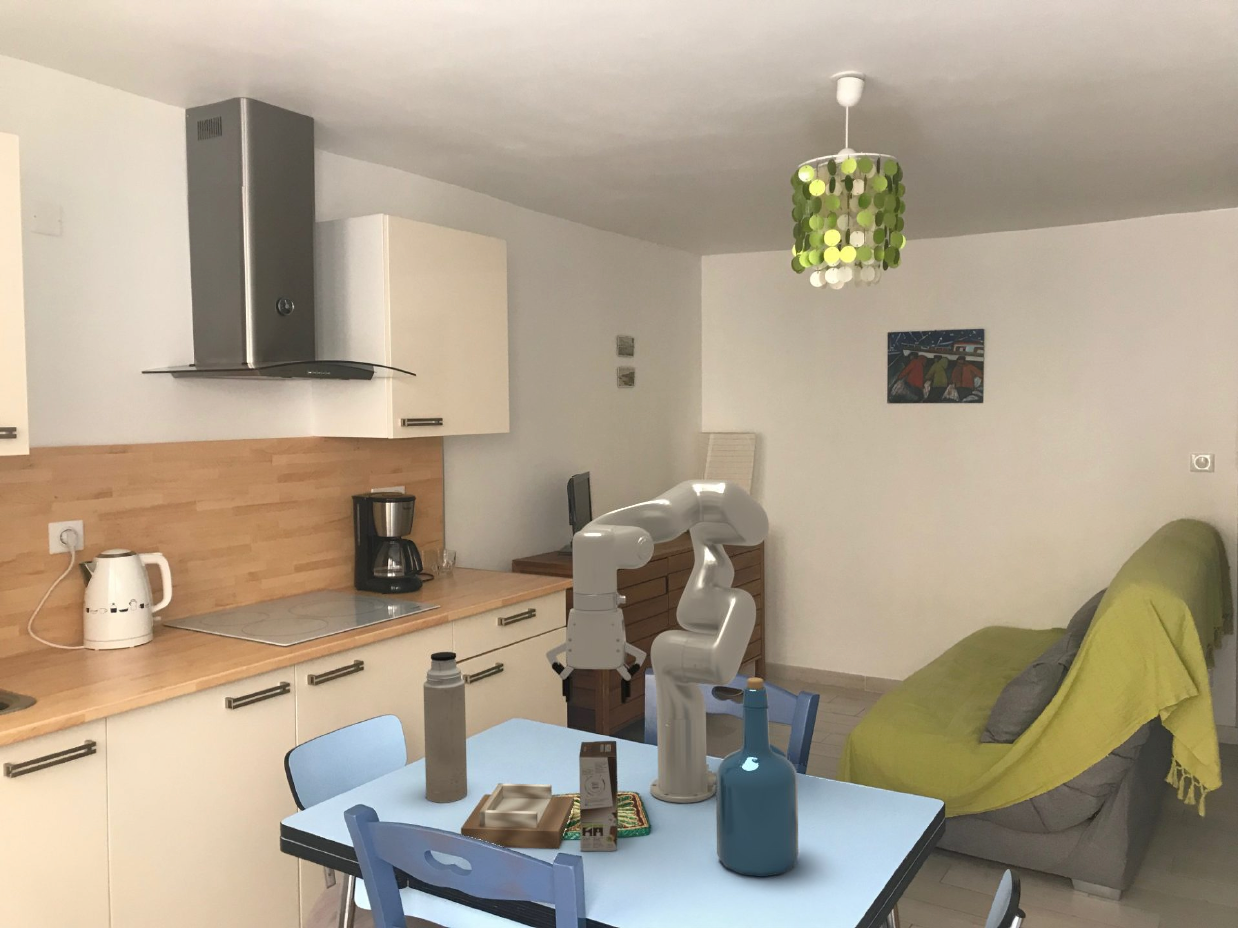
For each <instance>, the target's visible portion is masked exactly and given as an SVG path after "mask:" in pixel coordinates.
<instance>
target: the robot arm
mask: <svg viewBox="0 0 1238 928" xmlns="http://www.w3.org/2000/svg"><path fill="white" fill-rule="evenodd" d="M768 517H769V516H768V515H767V512H766V511H765V508H764V507H763V506H762V505H761V504H760V503H759V502H758V501H757V500H756V499H755V498H754V497H753V496H751V494H749V492H747V491H746V490H745V489H744V488H742V487H741V486H740V485H738V484H737V483H735V482H734V481H731V480H728V479H688V480H685V481H682V482H680V483H678V484H676V485H675V486H674V487H672V488H670V489H669V490H667V491H664V492H663V493H662V494H660V495H658V496H657V497H655V498H653V499H651V500H648V501H643V502H640V503H639V502H638V503H636V504H633V505H630V506H626V507H623V508H622V507H621V508H620V509H616V510H612V511H609V512H607V513H605V514H602V515H599V516H598V517H596V518H595V519H593V520H592V521H589V522H588V523H587V524H585V525H584V526H583V527H582V529H581V530H579V531H577V532H575V533H574V535H573V537H572V580H573V581H572V582H573V583H572V584H573V585H572V586H573V587H572V588H573V590H572V591H573V593H572V596H573V597H572V598H573V608H570V610H569V613H568V620H567V628H566V641H565V642H563V643H561V644H560V645H557V646H556V647H554V648H552V649H550V650H548V651H547V652H546V654H545V656H546V659H547V660H548V663H549V664H550V666H551V668H552V670H554V672H555V673H556V674H557V675H558V676H559V678H560V679H561V682H562V683H561V686H562V687H561V688H562V697H565V703H566V704H567V703H568V704H569V703H570V702H571V701H572V700H573V697H574V694H573V693H574V692H573V689H574V688H573V687H574V686H573V676H572V674H571V673H572V672H573V671H574V669H577V670H617V672H618V673H619V674H620V676H621V677H622V679H621V680H620V695H621V696H620V699H621V700H620V701H621V703H622V704H625V705H626V703H627V701H628V698H631V697H632V695H631V694H632V683H631V681H632V678H633V677H634V676H635V675H636V673H638V672H639V670H640V669H641V667H642V665H643V663H644V661H645V659H646V658H647V653H646V652H645V651H643V650H642V649H640V648H638V647H637V646H634V645H633V644H630V643H629V642H627V638H626V626H625V625H626V624H625V618H624V614H623V609H622V608H620V607H618V606H619V605H621V604H626V595H621V594H620V593H619V592H618V591H619V590H617V589H618V582H617V581H618V578H617V577H618V576H617V571H618V570H619V569H620V570H622V569H627V570H629V569H630V570H634V569H639V568H641V567H644V566H645V565H647V563H648V562H650V560H651V558H652V557H653V556H654V555H653V554H654V549H655V548H654V547H655V544H660V543H665V542H671V541H673V540H675V539H676V538H678V537H680V536H681V535H682V534H684V533H685V532H686V531H689V534H690V538H691V543H692V549H693V553H694V563H693V564H694V565H693V567H692V571H691V574H690V576H689V579H688V580H687V583H686V585H685V588H684V590H683V593H682V595H681V598H680V599H679V602H678V605H677V609H676V613H675V615H676V620H677V623H678V624H679V626H680V627H682V628H683V629H684V630H680V629H673V630H672V629H671V630H666V631H663V632H661V633H660V634H658V635H657V636H656V637H655V639H653V642H652V644H651V647H650V662H651V667H652V671H653V677H654V681H655V683H654V684H655V691H656V692H655V693H656V722H657V724H656V726H657V727H656V728H657V731H656V732H657V779H655V780H653V781H652V782H651V784H650V790H649V791H650V793H651V795H652V796H653V797H655V798H656V799H658V800H661V801H665V802H669V803H679V804H682V803H683V804H684V803H686V804H688V803H689V804H690V803H696V802H702V801H705V800H708V799H710V798H711V797H712V796H713V795H714V794H716V773H717V772H713V771H712V770H709V764H707V717H706V716H707V714H706V713H707V710H706V708H707V707H706V699H705V695H704V693H703V690H702V689H701V686H700V685H699V684H701V685H707V686H715V687H724V686H726V685H729V684H730V683H731V682H732V681H734V680H735V677H736V676H737V674H738V671H739V669H740V667H741V663H742V661H743V659H744V656H745V653H746V651H747V647H748V645H749V642H750V639H751V637H752V634H753V631H754V628H755V624H756V618H757V608H756V606H757V605H756V602H755V599H754V597H753V596H752V594H750V593H749V592H748V591H746V590H744V589H741V588H736V587H732V584H733V581H734V579H735V578H734V577H735V568H734V566H733V563H732V561H731V559H730V557H729V555H728V554H727V553H726V551H725V549H724V546H723V545H725V546H726V545H730V546H744V547H752V546H753V547H754V546H757V545H759V544H762V543H763V542H764V540H765V539H766V538H767V536H768V533H769V528H770V527H769V525H770V523H769V518H768ZM564 652H565V661H566V666H564V665H563V664H562V663H561V662H560V661H559V660H558V656H559V655H561V654H563V653H564ZM627 654H629V655H631V656H632V657H635V662H634V663H633V664H632V665H631V666H630V667H629V665H627V664H626V661H627Z"/></svg>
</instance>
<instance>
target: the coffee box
mask: <svg viewBox="0 0 1238 928" xmlns="http://www.w3.org/2000/svg"><path fill="white" fill-rule="evenodd" d="M580 744H581V745H580V749H579V750H580V751H579V757H578V759H579V760H578V762H579V765H578V766H579V823H580V824H579V827H580V828H579V829H580V852H582V851H583V852H584V851H585V852H590V851H591V852H595V851H597V852H603V851H604V852H615V851H617V850H618V849H617V847H618V834H619V800H618V799H619V798H618V796H619V794H618V793H619V790H618V787H619V786H618V783H619V782H618V755H617V754H618V753H617V740H598V741H597V740H596V741H581V743H580Z"/></svg>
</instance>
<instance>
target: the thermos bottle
mask: <svg viewBox="0 0 1238 928" xmlns="http://www.w3.org/2000/svg"><path fill="white" fill-rule="evenodd" d="M456 658H457V653H456V652H453V651H439V652H435V653H432V654H430V659H431V662H430V665H431V666H430V668H429V669H428V670H427V671H426V677H425V679H426V681H425V682H423V720H424V722H423V724H424V725H423V726H424V727H423V728H424V759H425V760H424V764H425V765H424V766H425V767H424V769H425V799H426V800H428V801H430V802H433V803H439V804H440V803H442V804H443V803H451V802H457V801H460V800H462V799H464V798H465V797H467V795H468V777H467V776H468V772H467V771H468V770H467V768H468V767H467V766H468V765H467V729H466V728H467V725H466V724H467V723H466V721H467V720H466V717H467V716H466V681H465V680H464V679H463V678H462V674H463V673H462V669H461V668H459V667H458V666H457V660H456Z"/></svg>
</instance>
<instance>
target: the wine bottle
mask: <svg viewBox="0 0 1238 928" xmlns="http://www.w3.org/2000/svg"><path fill="white" fill-rule="evenodd" d="M742 694H743V695H742V705H741V708H742V709H743V710H742V714H743V715H742V746H741V747H740V748H739V749H738V750H735V751H732V752H730V753H729V754H727V755H726V756H725V757H724V758H723V760H722V761H721V763H720V764H719V766H718V768H717V770H716V772H715V773H716V785H715V806H716V807H715V808H716V809H715V811H716V813H715V815H716V817H715V818H716V820H715V821H716V854H717V857H718V860H719V861H720V862H721V863H722V864H723V867H725V868H727V869H729V870H731V871H732V872H735V873H739V874H741V875H749V876H756V877H757V876H758V877H766V876H775V875H782V874H784V873H785V872H788V871H789V870H791V869H793V868H794V867H795V866H796V863H797V860H798V855H799V799H798V796H799V795H798V793H799V792H798V791H799V788H798V785H799V784H798V773H797V770H796V767H795V766H794V764H793V763H792V762H791V761H790V760H789V759H787V758H788V757H787V754H786V753H785V752H784V751H782V750H781V749H779V748H777V747H776V746H774V745H772V744H770V727H769V724H770V723H769V708H770V705H769V696H768V689H767V687H766V686H764V679H763V678H761V677H760V678H759V677H749V678H748V679H747V681H746V685H745V686H744V687H743V693H742Z"/></svg>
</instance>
